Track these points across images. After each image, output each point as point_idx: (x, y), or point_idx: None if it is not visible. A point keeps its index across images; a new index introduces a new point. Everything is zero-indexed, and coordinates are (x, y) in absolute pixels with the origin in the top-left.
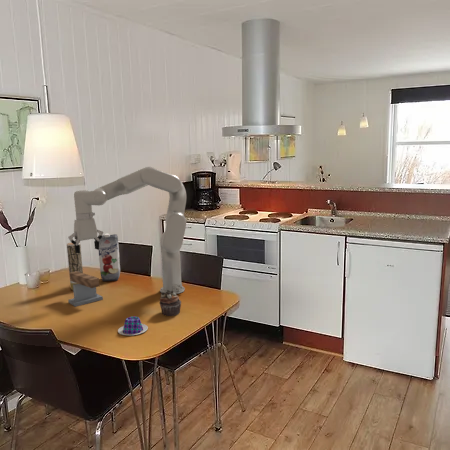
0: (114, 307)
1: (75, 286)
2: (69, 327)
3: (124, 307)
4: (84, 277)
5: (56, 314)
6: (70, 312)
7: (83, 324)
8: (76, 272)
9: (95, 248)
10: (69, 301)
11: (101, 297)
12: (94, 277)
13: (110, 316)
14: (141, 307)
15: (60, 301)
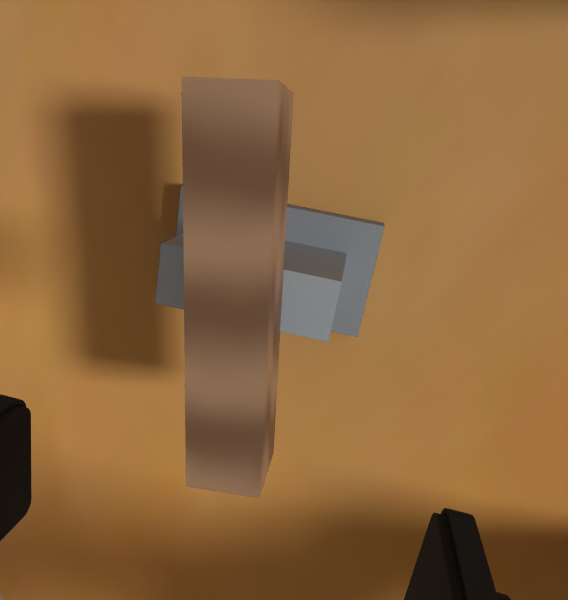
0: (307, 482)
1: (156, 296)
2: (36, 485)
3: (337, 524)
4: (192, 378)
5: (55, 303)
6: (117, 342)
7: (90, 510)
8: (242, 137)
9: (426, 542)
10: (182, 203)
11: (348, 334)
12: (248, 456)
13: (217, 544)
14: (387, 592)
15: (165, 108)
